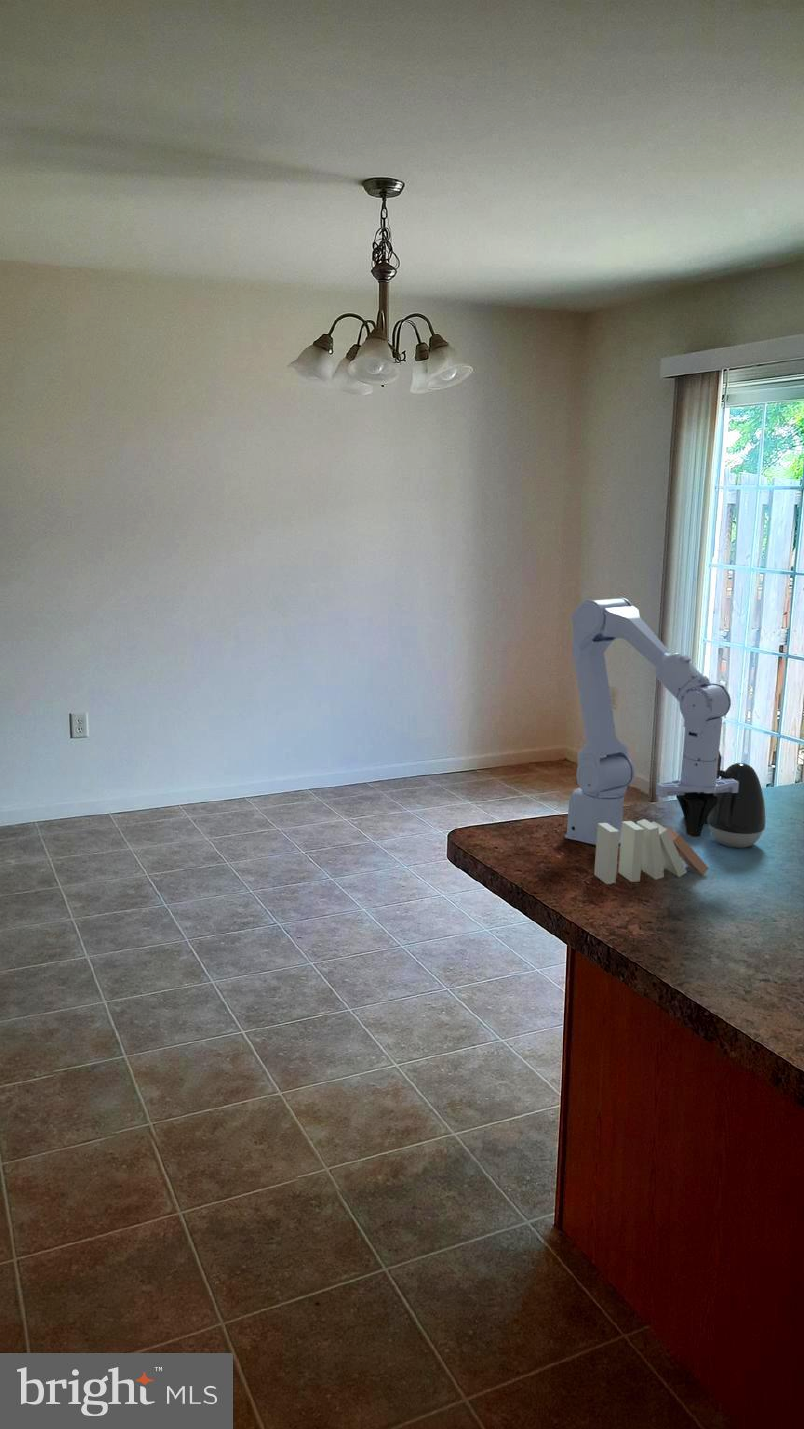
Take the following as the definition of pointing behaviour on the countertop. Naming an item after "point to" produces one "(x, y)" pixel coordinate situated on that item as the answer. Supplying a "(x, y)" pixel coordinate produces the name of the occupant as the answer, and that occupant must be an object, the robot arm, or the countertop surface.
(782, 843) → the countertop surface
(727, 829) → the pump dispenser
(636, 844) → the domino
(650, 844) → the domino
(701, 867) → the end domino
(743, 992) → the countertop surface
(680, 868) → the domino
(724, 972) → the countertop surface
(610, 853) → the domino
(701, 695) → the robot arm
